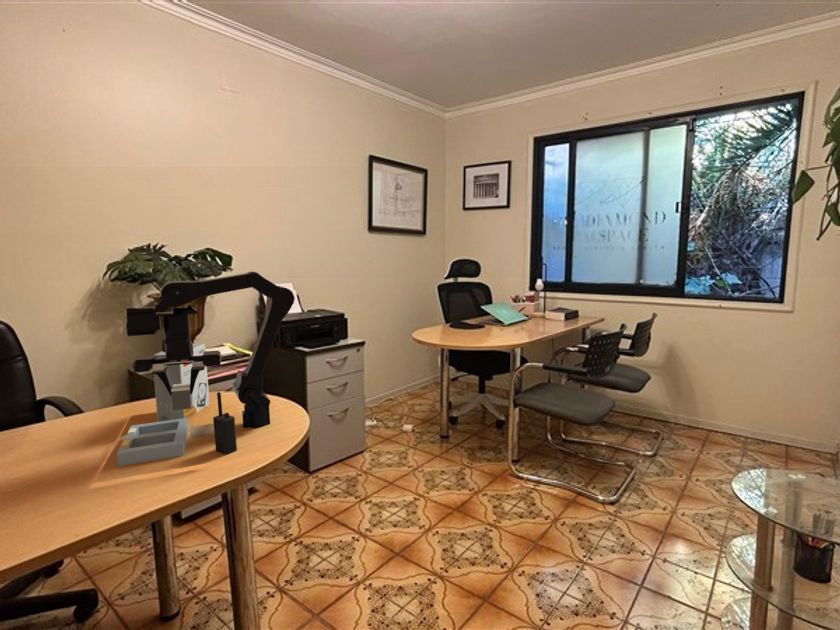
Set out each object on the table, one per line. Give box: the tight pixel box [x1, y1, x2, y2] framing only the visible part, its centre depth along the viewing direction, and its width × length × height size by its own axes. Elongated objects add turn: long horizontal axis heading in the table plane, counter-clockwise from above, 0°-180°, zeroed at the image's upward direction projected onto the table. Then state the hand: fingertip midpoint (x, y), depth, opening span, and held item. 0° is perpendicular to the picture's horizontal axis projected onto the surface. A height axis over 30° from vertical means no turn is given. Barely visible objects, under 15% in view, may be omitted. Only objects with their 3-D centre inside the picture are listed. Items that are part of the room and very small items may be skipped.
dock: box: [116, 418, 190, 467], centre depth 112 cm, size 13×17×4 cm
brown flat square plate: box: [189, 423, 215, 439], centre depth 121 cm, size 7×8×1 cm
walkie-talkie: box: [212, 391, 238, 455], centre depth 108 cm, size 5×3×15 cm
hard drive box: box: [153, 343, 211, 422], centre depth 132 cm, size 16×8×20 cm, turn 179°
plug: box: [171, 383, 193, 410], centre depth 114 cm, size 4×4×5 cm
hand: (181, 394), depth 114 cm, fingers closed on plug, 4 cm apart
